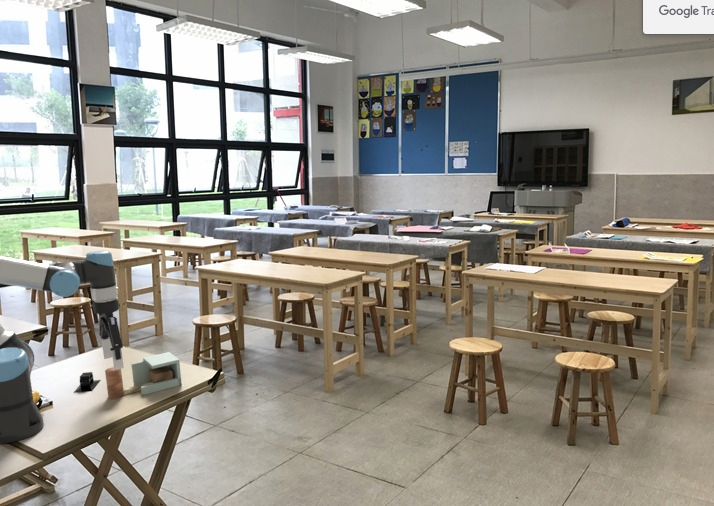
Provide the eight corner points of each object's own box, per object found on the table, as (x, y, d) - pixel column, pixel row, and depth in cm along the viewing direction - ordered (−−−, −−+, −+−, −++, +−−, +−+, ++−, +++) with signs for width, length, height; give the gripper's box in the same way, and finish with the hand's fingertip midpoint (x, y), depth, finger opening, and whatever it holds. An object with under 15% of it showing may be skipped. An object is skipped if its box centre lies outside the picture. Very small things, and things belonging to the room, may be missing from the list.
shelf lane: (142, 395, 196) (139, 368, 194) (133, 385, 204) (131, 360, 203) (181, 384, 203) (179, 359, 202) (171, 376, 211) (169, 351, 210)
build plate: (93, 394, 200) (91, 380, 199) (68, 396, 199) (67, 382, 198) (104, 379, 213) (102, 366, 212) (81, 381, 212) (79, 368, 211)
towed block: (110, 400, 192) (107, 374, 191) (106, 395, 197) (103, 368, 196) (173, 384, 204) (171, 359, 202) (168, 379, 209) (165, 354, 207)
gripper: (127, 304, 183) (136, 370, 186) (108, 291, 203) (116, 351, 207) (101, 309, 178) (110, 376, 182) (84, 295, 199) (92, 356, 202)
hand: (113, 363), depth 194 cm, fingers open, 13 cm apart
